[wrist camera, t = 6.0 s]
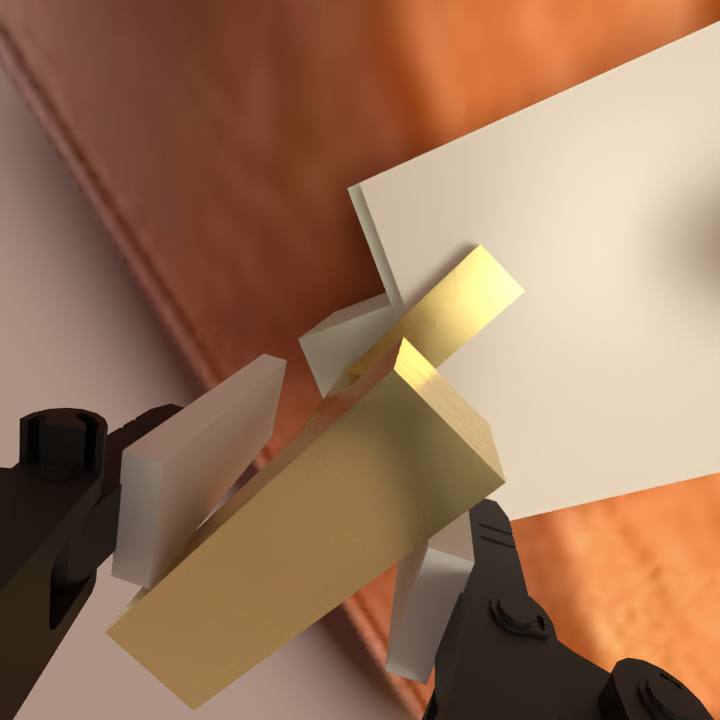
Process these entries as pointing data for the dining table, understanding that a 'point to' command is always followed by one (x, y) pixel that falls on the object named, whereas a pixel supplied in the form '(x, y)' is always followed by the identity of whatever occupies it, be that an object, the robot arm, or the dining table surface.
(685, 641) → the dining table surface
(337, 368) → the junction box
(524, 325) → the cover
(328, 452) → the t key
